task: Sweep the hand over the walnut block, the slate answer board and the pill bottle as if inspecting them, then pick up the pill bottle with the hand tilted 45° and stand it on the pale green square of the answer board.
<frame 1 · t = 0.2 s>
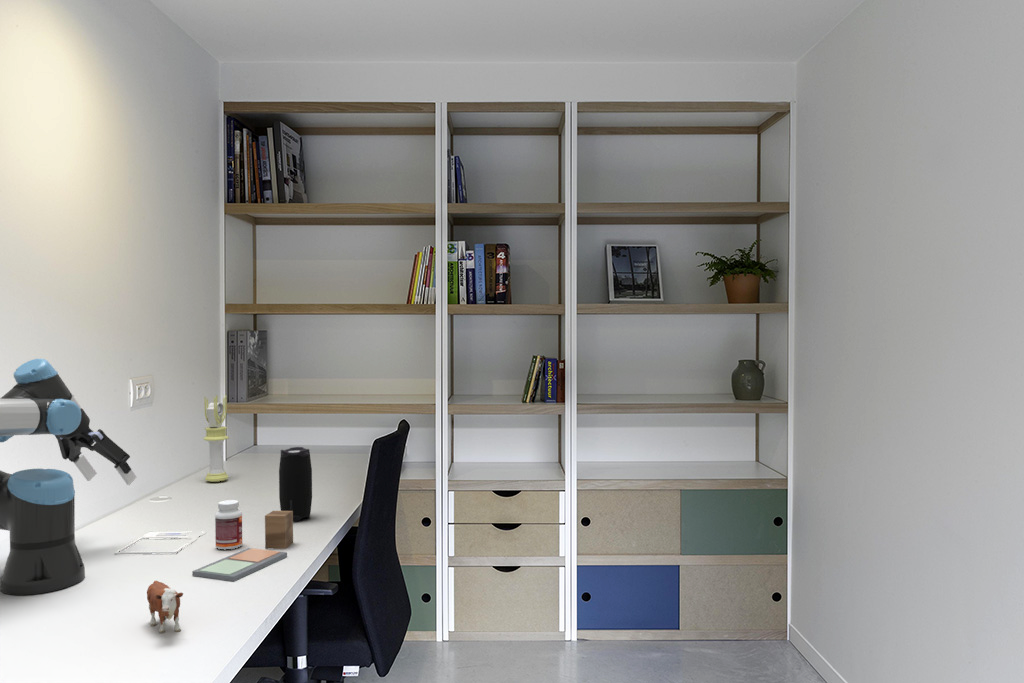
hand: (112, 479, 191), 16 cm above the table, tool tilted 35°, fingers open, 13 cm apart
portable speaker: (296, 519, 211), on the table
answer board: (241, 565, 170), on the table
photo frame: (162, 545, 188), on the table
pill bottle: (229, 547, 184), on the table
bull figurine: (165, 629, 135), on the table
walnut block: (279, 545, 185), on the table
trophy: (216, 482, 263), on the table
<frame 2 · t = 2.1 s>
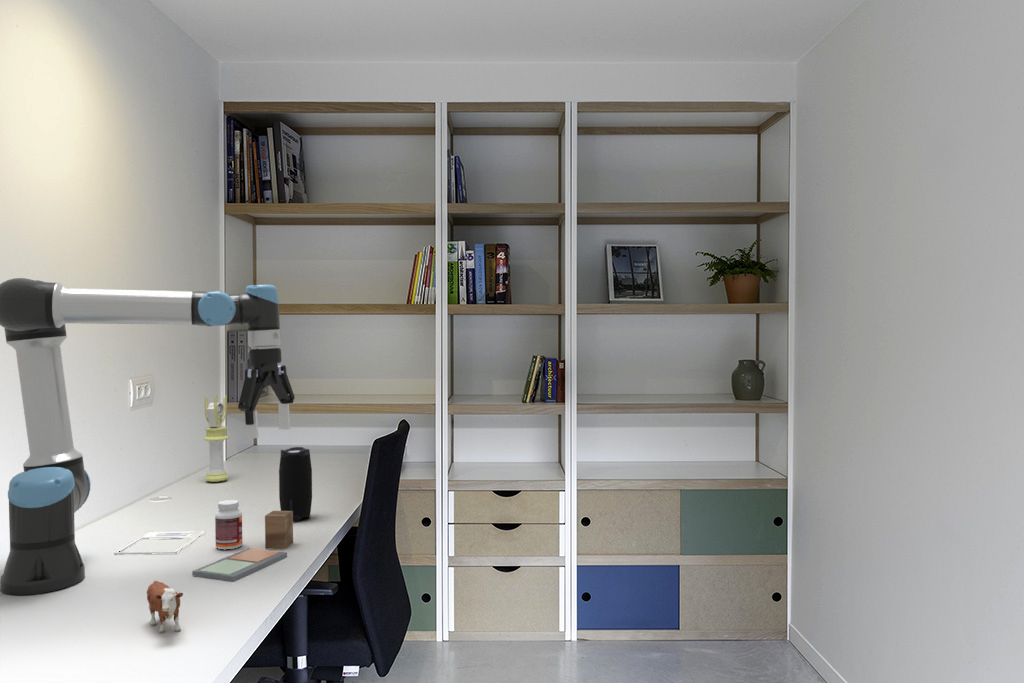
hand: (269, 433, 187), 27 cm above the table, tool pointing down, fingers open, 13 cm apart
nothing on the table moved.
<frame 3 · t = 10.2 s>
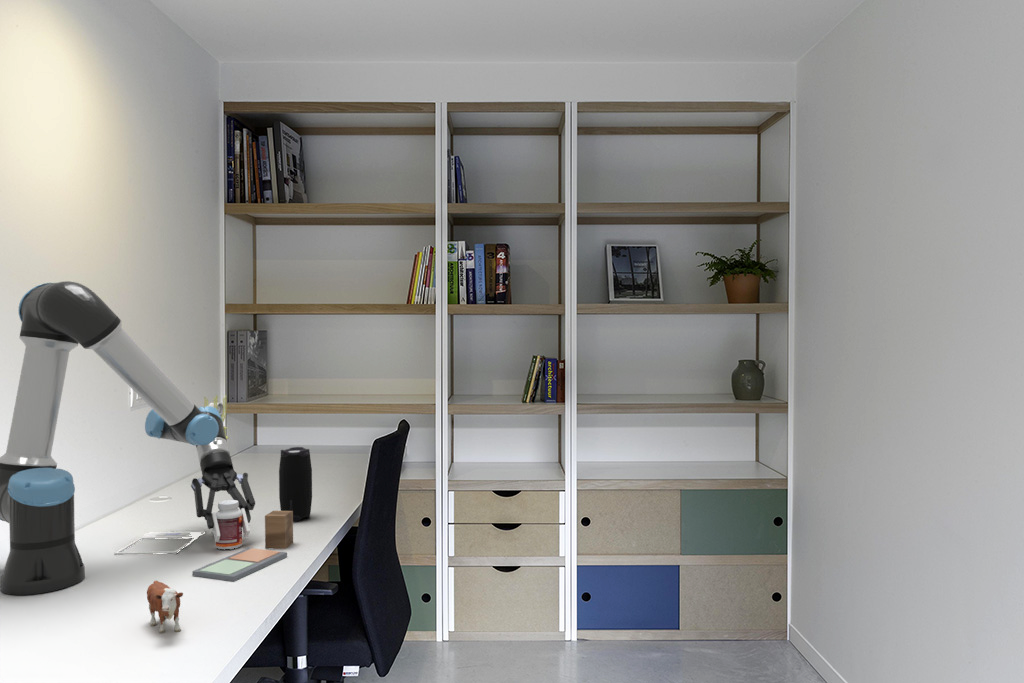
hand: (232, 536, 181), 3 cm above the table, tool tilted 45°, fingers closed on pill bottle, 6 cm apart
pill bottle: (229, 547, 184), on the table, touching gripper
everything else where it was.
when the fingers open (6 cm above the table, at t = 15.5 s): pill bottle drops 1 cm, resting on answer board.
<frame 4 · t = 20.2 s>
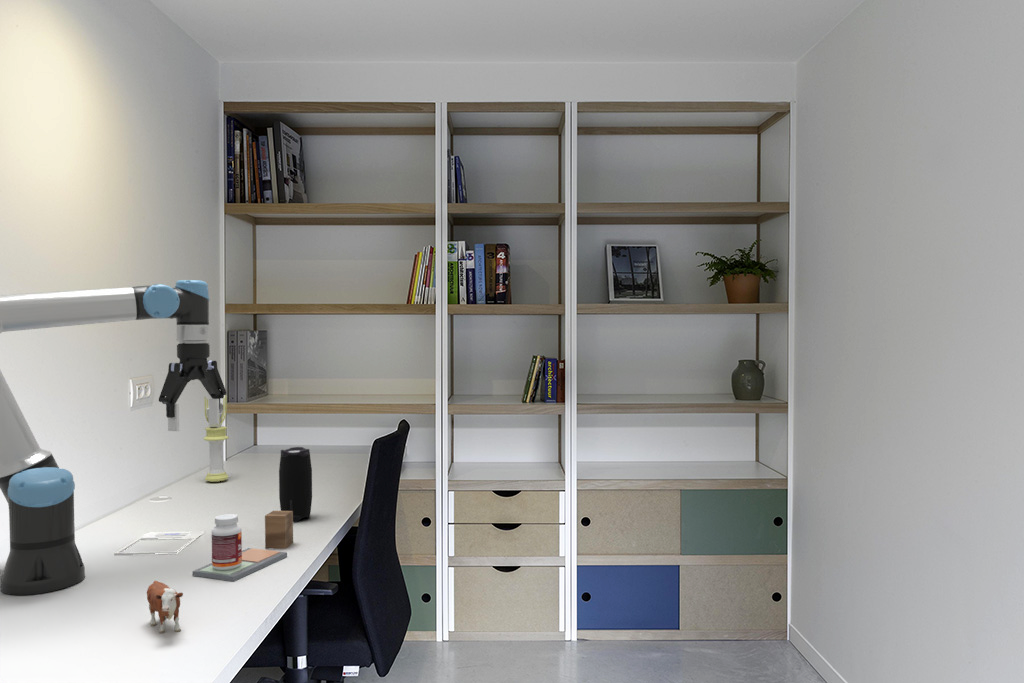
hand: (194, 427, 189), 29 cm above the table, tool pointing down, fingers open, 13 cm apart
pill bottle: (227, 567, 165), point 1 cm above the table, touching answer board
everything else where it was.
at the end: pill bottle inside the target area on the answer board (0.1 cm from its centre), point 1.0 cm above the answer board's base; pill bottle tilted 0°; the gripper is holding nothing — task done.
